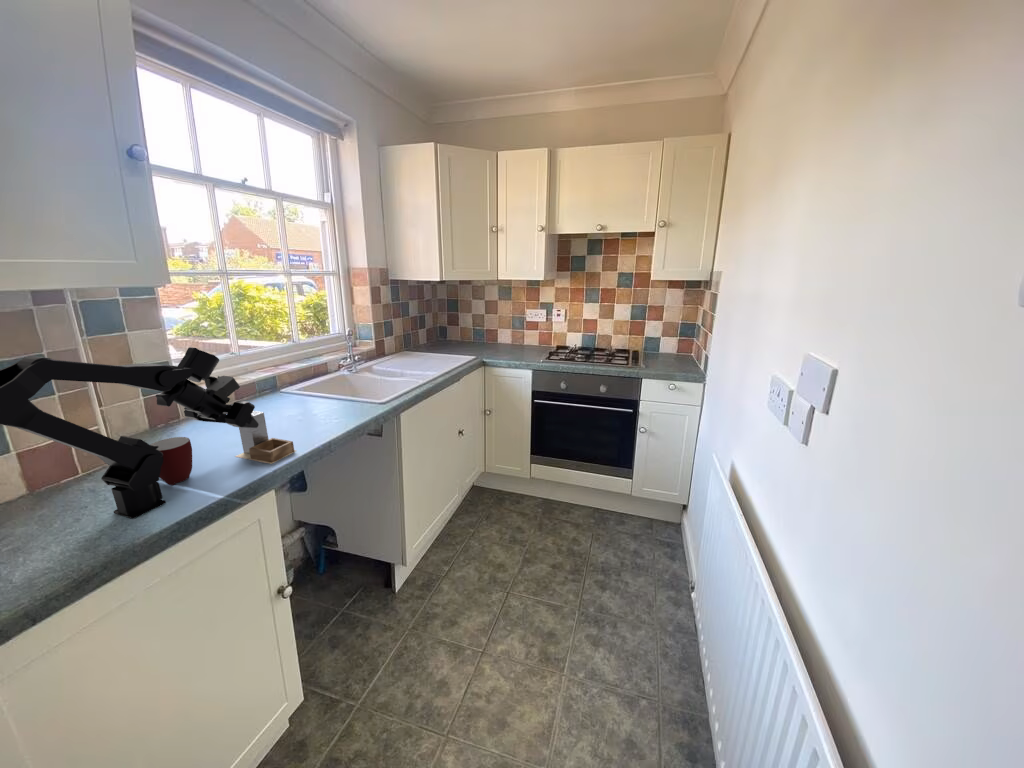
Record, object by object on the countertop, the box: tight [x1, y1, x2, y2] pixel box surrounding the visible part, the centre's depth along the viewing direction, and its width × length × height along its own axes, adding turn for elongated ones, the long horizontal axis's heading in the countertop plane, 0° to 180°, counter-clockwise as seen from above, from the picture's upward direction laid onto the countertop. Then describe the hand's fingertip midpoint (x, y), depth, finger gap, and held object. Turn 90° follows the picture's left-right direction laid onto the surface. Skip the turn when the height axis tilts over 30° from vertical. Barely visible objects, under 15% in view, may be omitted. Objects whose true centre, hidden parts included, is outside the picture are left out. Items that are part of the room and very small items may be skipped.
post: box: [238, 410, 270, 454], centre depth 114 cm, size 4×4×11 cm
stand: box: [234, 437, 297, 465], centre depth 113 cm, size 8×13×4 cm, turn 71°
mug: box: [149, 436, 193, 486], centre depth 99 cm, size 11×8×10 cm
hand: (244, 423), depth 111 cm, fingers open, 9 cm apart
